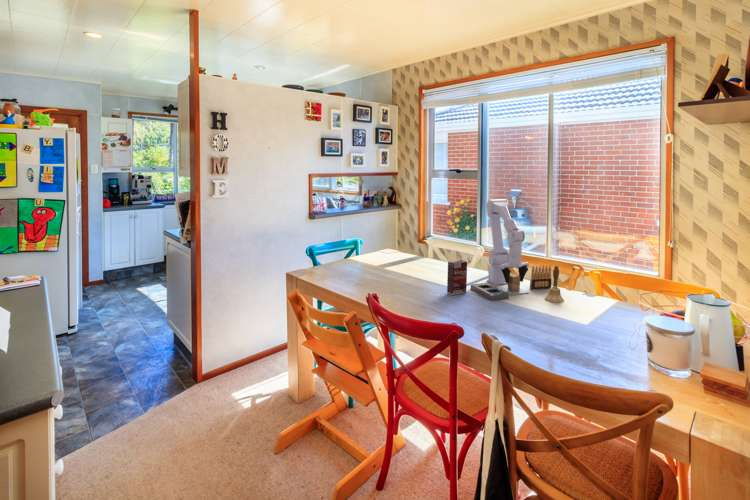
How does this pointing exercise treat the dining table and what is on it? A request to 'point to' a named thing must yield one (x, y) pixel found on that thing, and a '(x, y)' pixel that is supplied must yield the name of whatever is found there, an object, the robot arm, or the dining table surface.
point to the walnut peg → (514, 283)
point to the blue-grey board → (515, 292)
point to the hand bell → (554, 289)
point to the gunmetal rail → (489, 291)
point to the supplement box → (457, 277)
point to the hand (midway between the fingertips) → (514, 282)
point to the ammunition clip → (540, 278)
